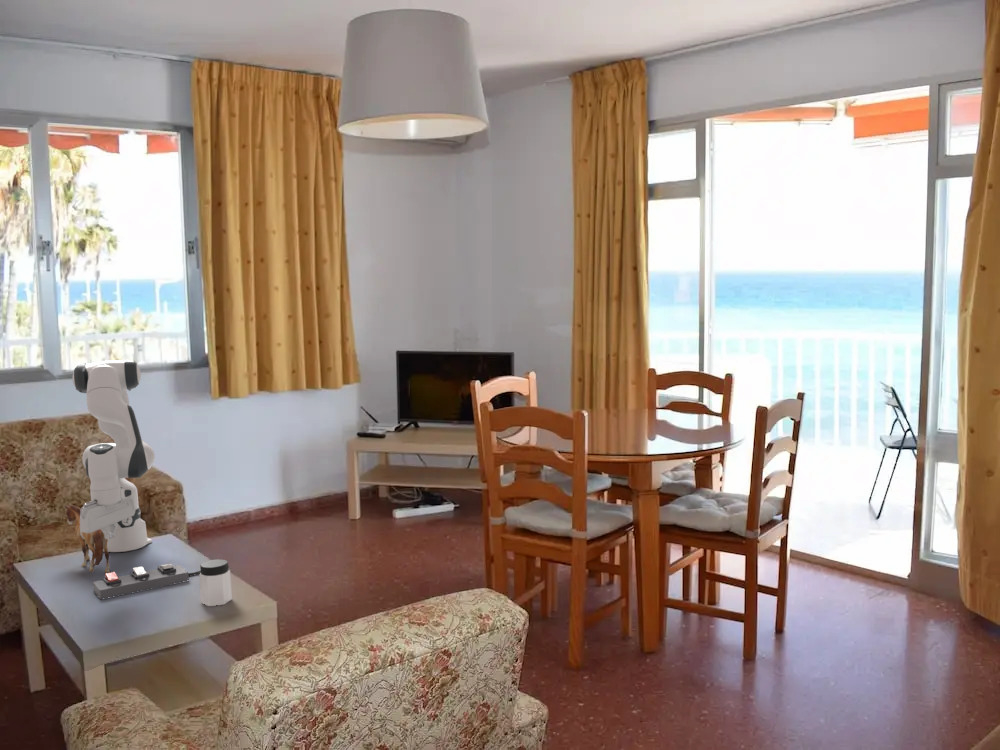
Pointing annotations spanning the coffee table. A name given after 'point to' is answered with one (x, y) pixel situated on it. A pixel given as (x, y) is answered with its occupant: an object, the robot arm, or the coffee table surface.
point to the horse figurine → (89, 540)
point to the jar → (215, 582)
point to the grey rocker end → (166, 566)
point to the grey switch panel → (141, 581)
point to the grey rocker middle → (139, 571)
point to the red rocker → (111, 576)
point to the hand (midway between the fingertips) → (110, 537)
